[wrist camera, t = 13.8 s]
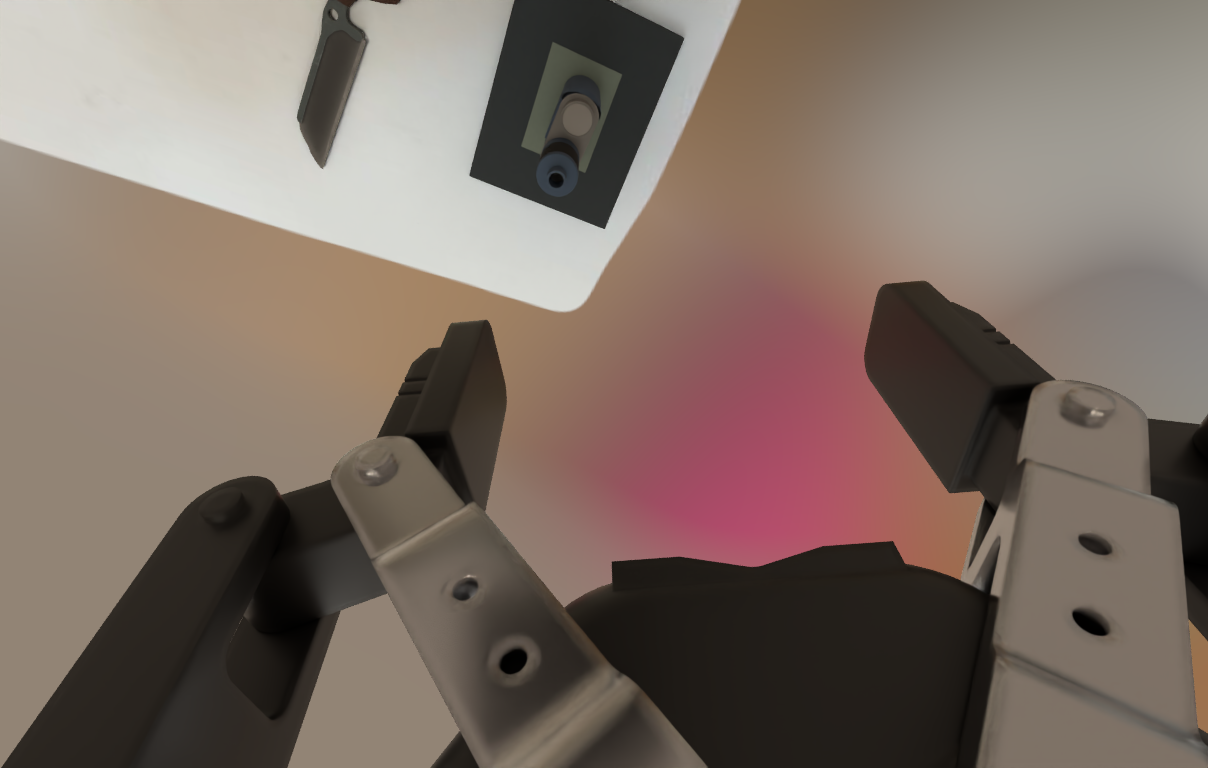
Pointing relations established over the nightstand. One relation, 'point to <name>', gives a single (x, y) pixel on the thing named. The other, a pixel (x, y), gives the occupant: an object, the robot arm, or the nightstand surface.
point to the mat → (535, 82)
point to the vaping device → (568, 135)
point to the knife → (330, 78)
